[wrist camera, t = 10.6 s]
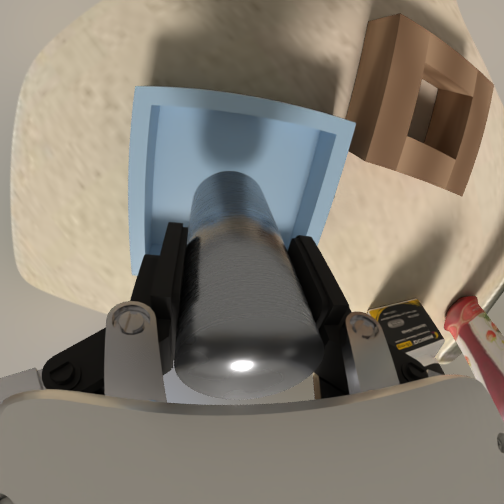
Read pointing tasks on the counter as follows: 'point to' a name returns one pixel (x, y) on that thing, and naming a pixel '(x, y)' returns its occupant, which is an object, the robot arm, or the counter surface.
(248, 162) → the tray
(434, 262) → the counter surface
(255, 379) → the peg
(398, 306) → the medicine bottle
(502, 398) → the liquor
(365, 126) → the hole block
